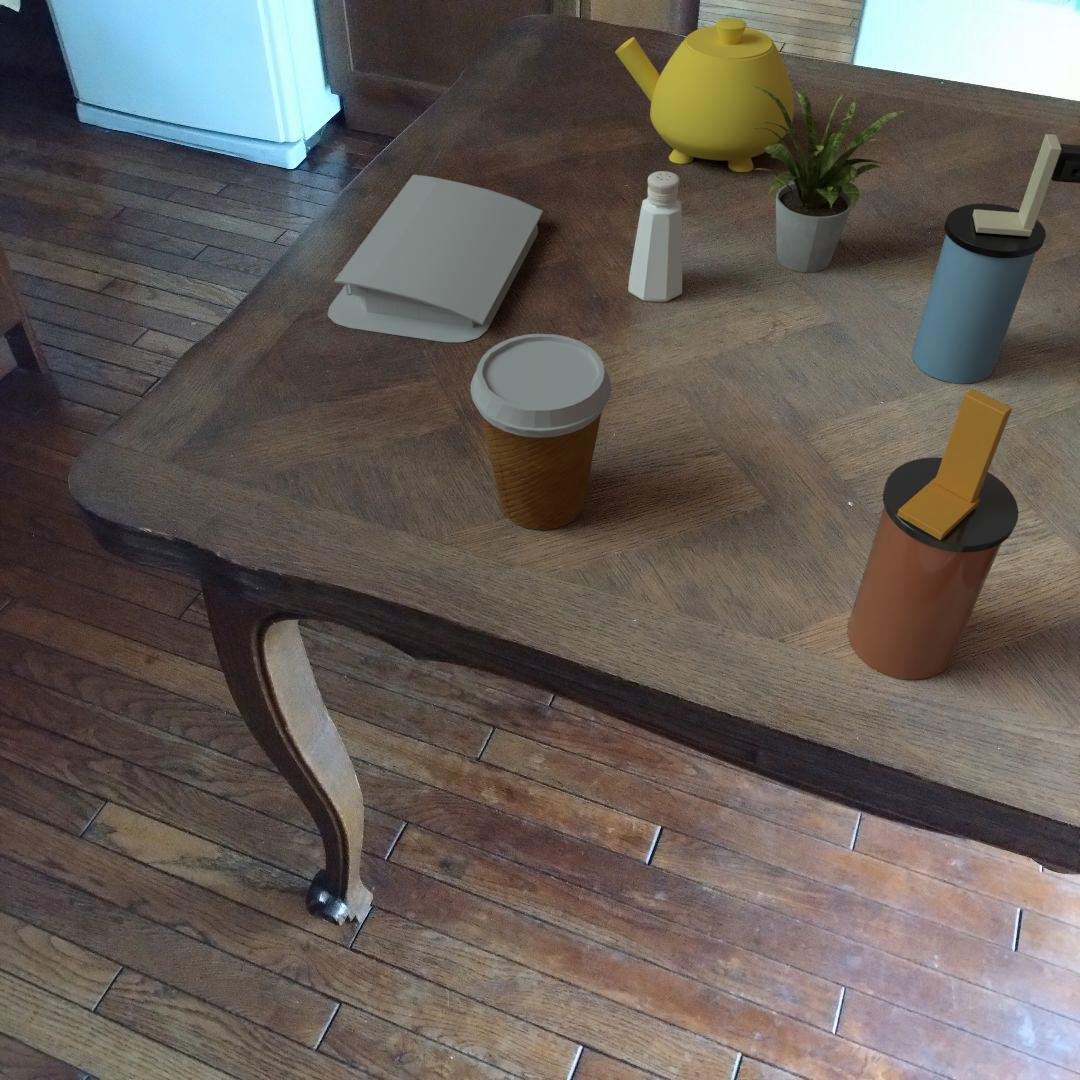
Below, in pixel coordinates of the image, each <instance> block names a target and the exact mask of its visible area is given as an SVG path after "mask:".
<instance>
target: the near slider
mask: <svg viewBox="0 0 1080 1080" xmlns="http://www.w3.org/2000/svg"><path fill="white" fill-rule="evenodd" d="M1012 410H1013V407H1011V406H1010V405H1008V404H1005V403H1003V402H1001V401H1000V400H998V399H995V398H993V397H991V396H989V395H986V394H985V393H983V392H981V391H979V390H976V389H974V388H970V390H968V391H967V392H966V393H965V394H964V395H963V398H962V401H961V404H960V407H959V410H958V412H957V416H956V419H955V422H954V424H953V428H952V430H951V433H950V436H949V439H948V441H947V444H946V447H945V451H944V453H943V456H942V458H943V459H942V462H941V465H940V467H939V470H938V473H937V476H936V478H934V479H933V480H932V481H931V482H930V483H929V484H928V485H926V486H925V487H924V488H923V489H922V490H921V491H919V492H918V493H917V494H916V495H915V496H914V497H913V498H911V499H910V500H909V501H908V502H907V503H906V504H905V505H903V506H902V507H901V508H900V509H899V511H898V514H897V516H899V517H901V518H902V519H904V520H906V521H908V522H909V523H911V524H913V525H915V526H916V527H918V528H920V529H922V530H923V531H925V532H927V533H929V534H930V535H932V536H934V537H936V538H937V539H939V540H941V539H942V538H944V537H945V536H946V535H947V534H948V533H949V532H950V531H951V530H952V529H953V528H954V527H955V526H956V525H958V524H959V523H960V522H961V521H962V520H963V519H964V518H965V517H966V516H967V515H968V514H969V513H970V512H972V511H973V510H974V509H975V508H976V507H977V506H978V504H979V502H980V499H978V498H977V497H978V495H979V493H980V490H981V488H982V485H983V483H984V480H985V477H986V475H987V472H989V470H990V467H991V465H992V462H993V460H994V456H995V455H996V452H997V449H998V447H999V444H1000V441H1001V439H1002V436H1003V434H1004V431H1005V429H1006V426H1007V423H1008V421H1009V419H1010V416H1011V413H1012Z"/></svg>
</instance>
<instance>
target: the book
mask: <svg viewBox="0 0 1080 1080" xmlns="http://www.w3.org/2000/svg"><path fill="white" fill-rule="evenodd" d="M543 213H544V210H542V209H540V208H537V207H536V206H533V205H531V204H529V203H526V202H525V201H522V200H519V199H518V198H515V197H513V196H509V195H506V194H503V193H500V192H497V191H494V190H490V189H489V188H488V189H487V188H483V187H479V186H475V185H472V184H469V183H468V184H467V183H464V182H459V181H455V180H450V179H445V178H439V177H435V176H427V175H419V174H412V175H411V177H410V178H409V179H408V181H407V182H406V183H405V185H404V186H403V187H402V189H401V190H399V193H398V194H397V195H396V197H395V198H394V199H393V201H392V203H390V205H389V206H388V207H387V209H386V210H385V211H384V213H383V215H381V217H380V218H379V220H378V221H377V223H375V225H374V227H372V229H371V230H370V232H369V233H368V234H367V235H366V237H365V239H364V240H363V241H362V242H361V244H360V245H359V246H358V248H357V249H356V251H355V252H354V253H353V255H352V256H351V257H350V258H349V260H348V261H347V263H346V264H345V265H344V266H343V268H342V269H341V271H340V272H339V274H337V276H336V277H335V279H334V284H335V283H336V284H342V285H344V286H343V287H342V289H341V290H340V291H339V292H338V294H337V295H336V297H335V298H334V299H333V301H332V302H331V303H330V305H329V306H328V310H327V317H328V318H329V319H330V320H331V321H332V322H333V323H334V324H335V325H339V326H341V327H345V328H348V329H354V330H359V331H367V332H373V333H380V334H387V335H392V336H400V337H404V338H405V337H406V338H412V339H419V340H425V341H426V340H427V341H433V342H439V343H445V344H446V343H447V344H448V343H453V344H454V343H455V344H464V343H466V342H471V341H474V340H477V339H479V338H480V337H482V336H483V335H484V334H485V333H486V332H487V331H488V330H489V327H490V326H491V324H492V322H493V321H494V318H495V317H496V314H497V313H498V311H499V308H500V307H501V305H502V303H503V301H504V299H505V297H506V295H507V293H508V291H509V289H510V287H511V286H512V284H513V282H514V280H515V278H516V276H517V274H518V273H519V270H520V268H521V267H522V265H523V263H524V261H525V260H526V257H527V255H528V254H529V252H530V250H531V248H532V246H533V244H534V242H535V240H536V238H537V237H538V234H539V227H538V225H537V224H538V222H539V221H540V219H541V217H542V215H543Z"/></svg>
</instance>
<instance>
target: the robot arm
mask: <svg viewBox="0 0 1080 1080" xmlns="http://www.w3.org/2000/svg"><path fill="white" fill-rule="evenodd" d="M1060 146H1061V149H1062V150H1061V153H1060V155H1059V158H1058V161H1057V164H1056V167H1055V169H1054V172H1053V175H1052V178H1051V181H1053V182H1056V183H1057V182H1058V183H1071V184H1072V183H1073V184H1075V183H1076V184H1080V144H1069V143H1060Z"/></svg>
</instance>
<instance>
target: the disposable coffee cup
mask: <svg viewBox="0 0 1080 1080" xmlns="http://www.w3.org/2000/svg"><path fill="white" fill-rule="evenodd" d="M611 394H612V383H611V378H610V375H609V373H608V371H607V370H606V368H605V366H604V362H603V359H602V358H601V357H600V356H599V354H598V352H596V351H595V350H594V349H593V348H591V347H590V346H589V345H588V344H586V343H584V342H582V341H580V340H578V339H575V338H572V337H569V336H565V335H560V334H553V333H552V334H550V333H529V334H523V335H518V336H513V337H511V338H508V339H506V340H503V341H501V342H499V343H496V344H495V345H493V346H492V347H491V348H490V349H488V350H487V351H486V352H485V353H484V354H483V355H482V357H481V358H480V360H479V362H478V364H477V366H476V371H475V372H474V373H473V375H472V379H471V382H470V396H471V399H472V402H473V403H474V405H475V407H476V409H477V410H478V412H479V413H480V417H481V420H482V421H481V422H482V425H483V430H484V435H485V439H486V445H487V450H488V453H489V458H490V462H491V467H492V471H493V476H494V480H495V485H496V489H497V493H498V499H499V504H500V508H501V511H502V512H503V514H504V515H505V517H506V518H507V519H508V520H510V521H511V522H512V523H514V524H516V525H518V526H520V527H522V528H527V529H530V530H539V531H541V530H553V529H558V528H561V527H563V526H566V525H568V524H570V523H571V522H573V521H574V520H575V519H577V517H579V515H580V514H581V512H582V511H583V509H584V506H585V501H586V500H585V499H586V494H587V489H588V483H589V478H590V473H591V469H592V463H593V458H594V453H595V449H596V443H597V439H598V433H599V428H600V423H601V417H602V414H603V411H604V409H605V407H606V405H607V404H608V402H609V401H610V396H611Z"/></svg>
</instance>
